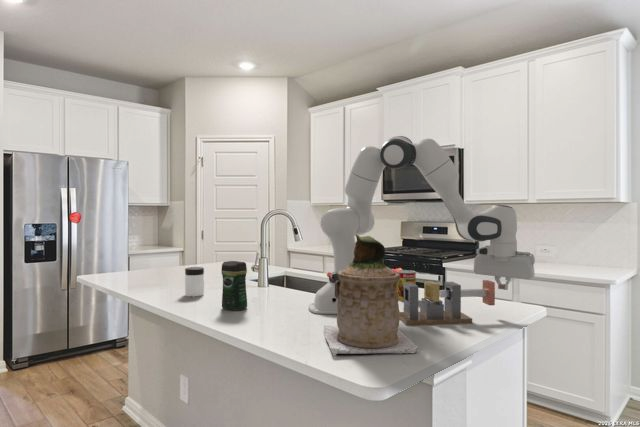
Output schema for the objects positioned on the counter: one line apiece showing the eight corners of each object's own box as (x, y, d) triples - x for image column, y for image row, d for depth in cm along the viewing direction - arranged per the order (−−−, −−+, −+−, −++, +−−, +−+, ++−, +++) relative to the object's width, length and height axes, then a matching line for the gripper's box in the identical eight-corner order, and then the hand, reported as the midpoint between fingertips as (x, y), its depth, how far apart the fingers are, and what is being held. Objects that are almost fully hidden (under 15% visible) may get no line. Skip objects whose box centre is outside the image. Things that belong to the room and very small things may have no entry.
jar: (203, 296, 197) (203, 269, 197) (184, 297, 195) (184, 270, 195) (204, 292, 206) (204, 266, 206) (186, 293, 204) (185, 267, 204)
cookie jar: (420, 355, 120) (420, 236, 119) (329, 358, 118) (329, 237, 117) (397, 329, 144) (397, 230, 144) (321, 331, 143) (321, 231, 142)
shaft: (442, 306, 154) (442, 283, 153) (437, 303, 159) (437, 281, 158) (494, 305, 156) (494, 282, 155) (487, 302, 161) (487, 279, 160)
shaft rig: (406, 325, 149) (406, 288, 148) (396, 316, 161) (396, 281, 160) (472, 323, 151) (472, 286, 151) (457, 314, 163) (457, 280, 163)
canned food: (407, 302, 183) (407, 273, 183) (392, 299, 189) (392, 271, 189) (419, 299, 188) (419, 271, 188) (404, 296, 194) (404, 269, 194)
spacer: (432, 301, 152) (432, 284, 152) (424, 298, 158) (424, 281, 158) (439, 301, 153) (439, 283, 153) (430, 297, 159) (430, 281, 159)
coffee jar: (250, 307, 175) (250, 260, 175) (237, 312, 168) (236, 263, 168) (232, 305, 180) (231, 259, 180) (218, 309, 173) (217, 261, 173)
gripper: (537, 251, 154) (536, 291, 154) (478, 248, 167) (478, 284, 168) (531, 253, 149) (531, 294, 149) (472, 249, 162) (471, 287, 163)
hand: (503, 289), depth 159 cm, fingers closed
